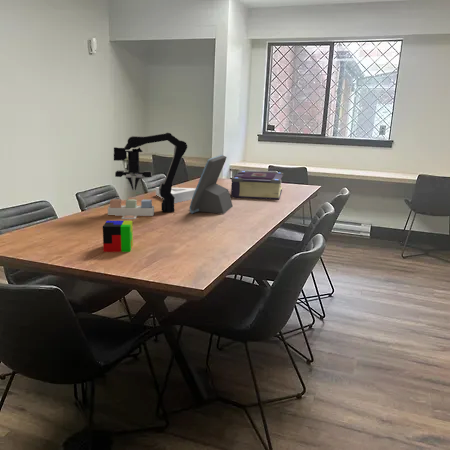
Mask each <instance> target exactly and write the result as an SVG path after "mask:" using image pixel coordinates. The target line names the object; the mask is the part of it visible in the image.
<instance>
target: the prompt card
mask: <svg viewBox="0 0 450 450" xmlns="http://www.w3.org/2000/svg"><path fill="white" fill-rule="evenodd" d="M137 217H138V216H121V220H136V219H137Z"/></svg>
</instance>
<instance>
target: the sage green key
mask: <svg viewBox="0 0 450 450" xmlns="http://www.w3.org/2000/svg"><path fill="white" fill-rule="evenodd" d="M137 201H138V200H137V199H129V198H126V200H125V206H126V208H136V207H137V206H138V205H137V204H138V202H137Z"/></svg>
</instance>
